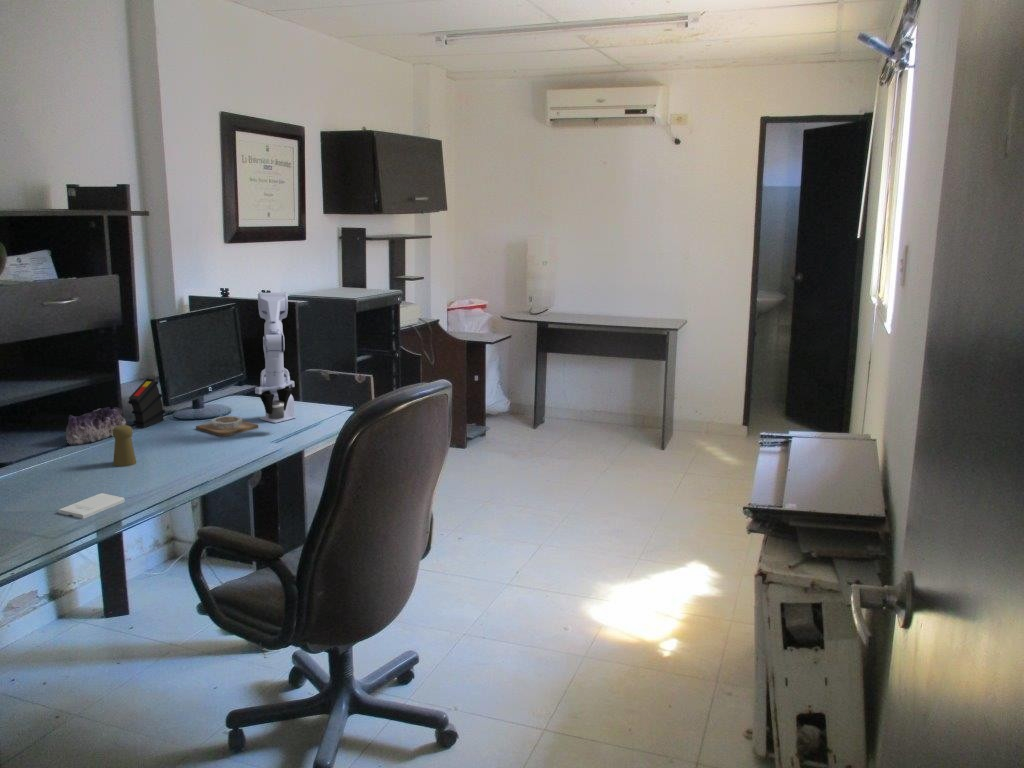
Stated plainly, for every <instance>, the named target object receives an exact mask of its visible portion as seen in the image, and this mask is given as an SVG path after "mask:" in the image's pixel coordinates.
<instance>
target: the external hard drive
mask: <svg viewBox="0 0 1024 768" xmlns="http://www.w3.org/2000/svg"><path fill="white" fill-rule="evenodd" d="M123 503H126V499H125V497H121V496H117V495H113V494H108V493H102V492H101V493H97V494H96V495H95V494H94V495H92V496H90V497H88V498H87V497H86V498H85V499H83V500H80V501H78V502H74V503H72V504H70V505H67V506H65V507H62V508H59V509H58V510H57V513H58V514H60V515H66V516H71V517H74V518H78V519H83V520H84V519H86V518H88V517H90V516H91V517H92V516H94V515H96V514H98V513H101V512H104V511H106V510H108V509H110V508H113V507H116V506H119V505H120V504H123Z"/></svg>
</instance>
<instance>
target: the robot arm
mask: <svg viewBox="0 0 1024 768" xmlns="http://www.w3.org/2000/svg"><path fill="white" fill-rule="evenodd" d="M288 296H289V295H288V293H287V292H262V291H260V292H258V293H257V305H258V306H257V307H258V315H259V317H260V318H261V319H262V320H263V319H264V320H265V322H264V326H263V327H264V331H263V332H264V335H263V337H262V344H263V345H262V347H263V353H264V355H263V356H264V362H265V363H264V365H265V367H264V369H262V370H261V372H260V379H259V380H260V386H255V388H254V392H255V394H257V395H258V397H259V398H260V400H261V402H262V404H263V406H264V410H265V411H264V412H265V416H262V417H259V418H260V420H262V421H265V422H270V423H273V424H276V423H280V422H285V421H289V420H292V419H296V417H297V416H295V399H294V396H293V395H292V393H293V388H295V381H294V380H292V379H291V376H290V372H289V370H288V369H287V368H285V367H284V364H285V363H284V352H285V348H286V347H285V346H286V345H285V335H284V330H283V322H282V321H283V319H286V318H287V317H288V311H289V303H288V302H289V300H288V298H289V297H288ZM274 400H279V401H283V402H284V418H281V419H270V418H268V414H272V403H273V401H274Z"/></svg>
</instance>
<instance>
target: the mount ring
mask: <svg viewBox="0 0 1024 768" xmlns="http://www.w3.org/2000/svg"><path fill="white" fill-rule="evenodd" d="M242 421H243V418H242V417H239V416H235V415H227V416H226V415H225V416H218V417H217V416H216V417H215V418H213V419H211V422H212V427H213V428H215V429H223V430H227V429H235V428H239V427H241V426H242V425H243V423H242Z"/></svg>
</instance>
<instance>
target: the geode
mask: <svg viewBox="0 0 1024 768" xmlns="http://www.w3.org/2000/svg"><path fill="white" fill-rule="evenodd" d="M67 419H68V423H67V426H66V428H65V429H66V431H65V433H66V437H65V439H66V440H67V441H68V442H69V443H70V445H69V446H71V447H75V446H77V447H78V446H84V445H90V444H93V443H95V442H98V441H101V440H104V439H107V438H110V437H114V436H113V429H114V428H115V427H117V426H121V425H127V421H126V419H125V417H124V416H123V410H122V409H121V408H120V407H117V406H115V407H113V408H112V409H111V406H107V407H104V408H102V407H101V408H97V409H95V410H92V411H91V412H87V413H84V414H81V415H80V416H74V415H72V414H69V416H68V417H67ZM67 441H66V442H67Z"/></svg>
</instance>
